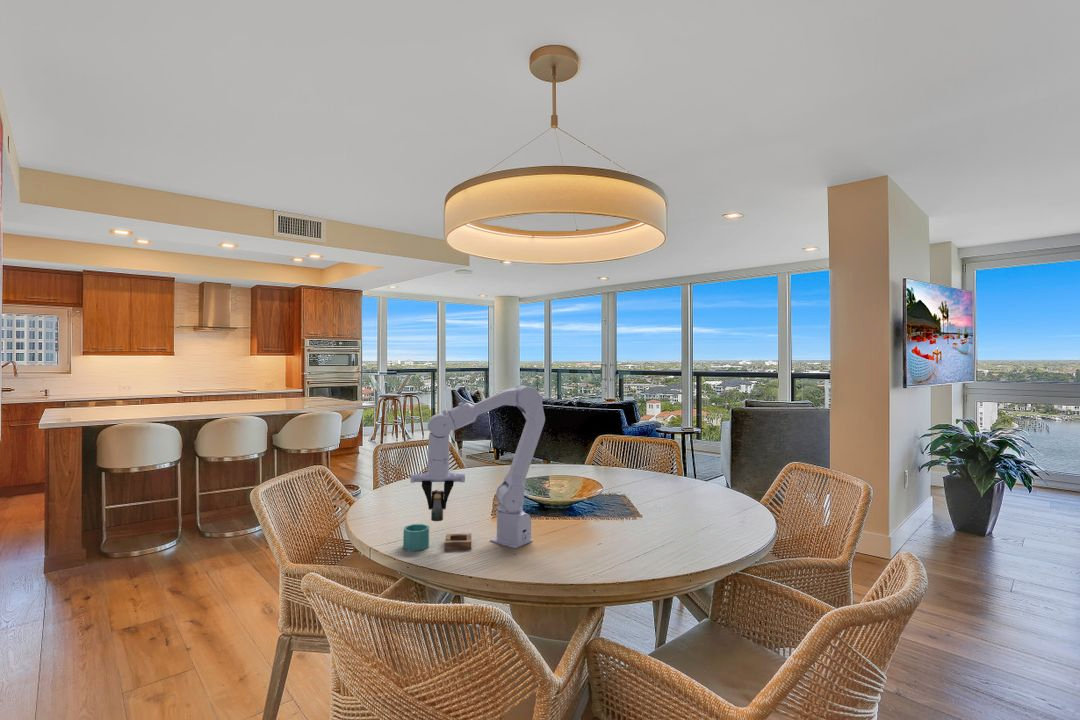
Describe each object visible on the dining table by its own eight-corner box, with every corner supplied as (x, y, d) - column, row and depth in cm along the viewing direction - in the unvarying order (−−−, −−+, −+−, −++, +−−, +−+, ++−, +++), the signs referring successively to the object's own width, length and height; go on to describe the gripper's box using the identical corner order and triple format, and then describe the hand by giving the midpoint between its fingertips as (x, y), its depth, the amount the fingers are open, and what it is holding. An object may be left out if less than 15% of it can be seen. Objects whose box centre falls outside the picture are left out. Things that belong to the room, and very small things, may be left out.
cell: (445, 519, 147) (446, 490, 147) (436, 522, 144) (437, 492, 144) (437, 517, 149) (438, 488, 149) (428, 519, 146) (429, 490, 146)
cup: (433, 545, 146) (434, 527, 146) (414, 552, 141) (414, 533, 141) (418, 540, 150) (418, 522, 150) (398, 546, 145) (399, 528, 145)
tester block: (471, 540, 151) (471, 532, 151) (471, 549, 144) (471, 541, 144) (446, 541, 150) (446, 533, 150) (444, 549, 143) (445, 541, 143)
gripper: (465, 456, 151) (464, 504, 151) (413, 455, 149) (411, 504, 149) (465, 460, 144) (464, 511, 144) (410, 460, 142) (408, 511, 142)
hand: (437, 508), depth 146 cm, fingers closed on cell, 3 cm apart
